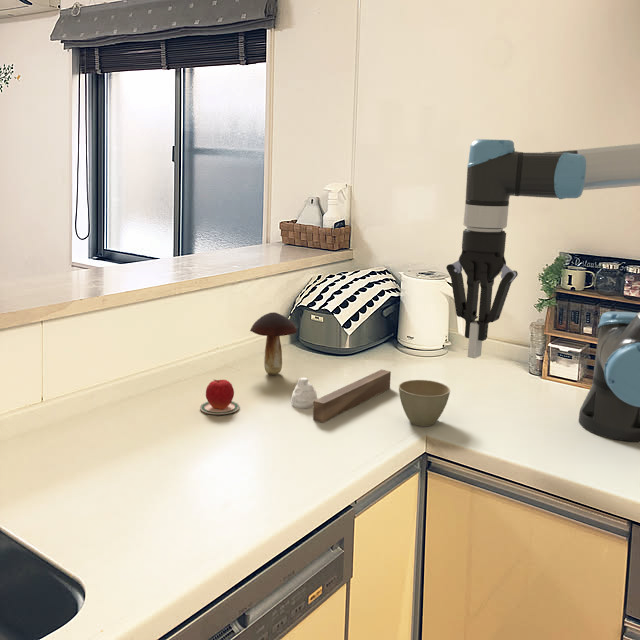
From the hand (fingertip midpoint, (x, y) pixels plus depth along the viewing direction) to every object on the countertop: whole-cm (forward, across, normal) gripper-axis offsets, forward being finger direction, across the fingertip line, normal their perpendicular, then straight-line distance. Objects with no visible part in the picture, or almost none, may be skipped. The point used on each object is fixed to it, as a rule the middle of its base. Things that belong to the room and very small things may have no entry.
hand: (474, 356), depth 131 cm
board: (+16, +26, 0) cm, 30 cm away
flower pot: (+16, +10, 0) cm, 19 cm away
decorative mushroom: (+16, +51, -4) cm, 54 cm away
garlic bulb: (+16, +34, +7) cm, 38 cm away
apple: (+16, +46, +20) cm, 52 cm away
